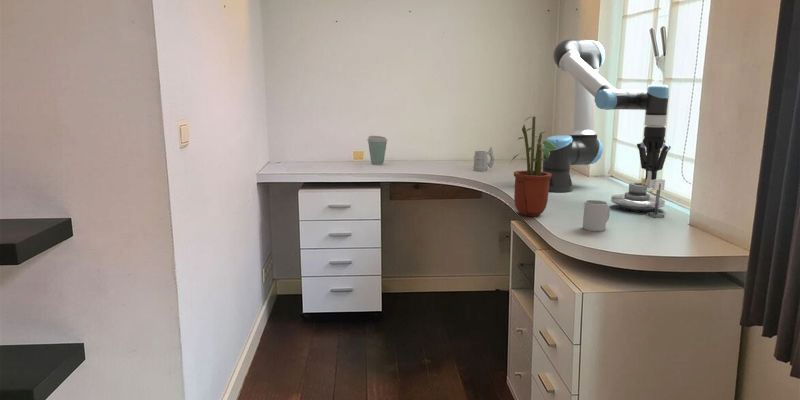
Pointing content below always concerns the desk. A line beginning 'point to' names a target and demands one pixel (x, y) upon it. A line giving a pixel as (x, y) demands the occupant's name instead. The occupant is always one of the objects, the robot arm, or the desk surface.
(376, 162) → the disposable coffee cup
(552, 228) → the desk surface
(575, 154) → the robot arm
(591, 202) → the cup
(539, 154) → the potted plant
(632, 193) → the cover
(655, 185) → the dial gauge
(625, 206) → the turntable base
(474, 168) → the mug
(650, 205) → the turntable
